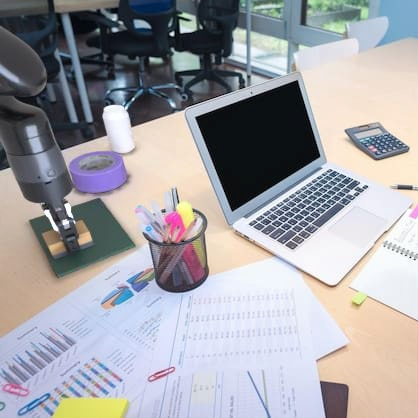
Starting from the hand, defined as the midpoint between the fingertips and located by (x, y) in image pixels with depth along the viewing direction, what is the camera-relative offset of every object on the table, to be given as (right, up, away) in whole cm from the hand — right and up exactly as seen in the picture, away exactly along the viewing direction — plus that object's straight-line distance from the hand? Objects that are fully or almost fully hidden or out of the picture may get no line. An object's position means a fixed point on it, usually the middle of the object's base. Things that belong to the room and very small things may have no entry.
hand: (70, 244), depth 76 cm
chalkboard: (0, +2, +4) cm, 5 cm away
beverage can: (-5, +23, +33) cm, 40 cm away
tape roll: (-5, +14, +20) cm, 25 cm away
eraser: (0, 0, 0) cm, 1 cm away
